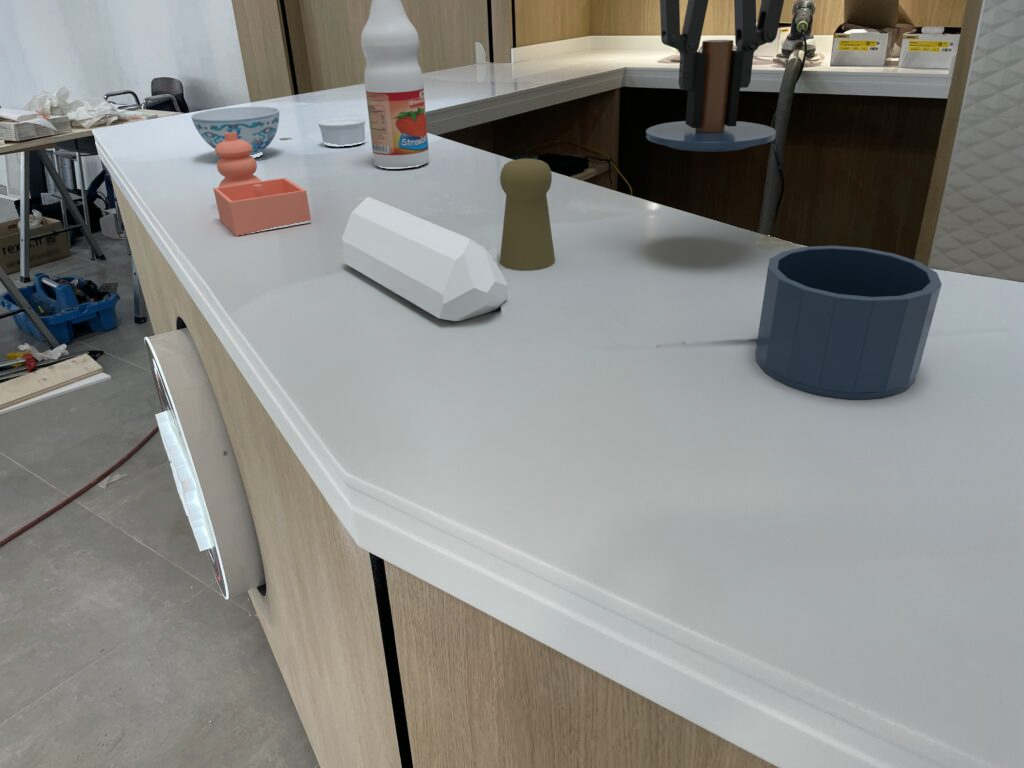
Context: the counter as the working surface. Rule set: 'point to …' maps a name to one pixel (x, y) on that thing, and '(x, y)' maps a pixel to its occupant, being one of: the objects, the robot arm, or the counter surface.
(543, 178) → the cork
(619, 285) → the counter surface
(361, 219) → the crystal
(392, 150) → the fruit juice
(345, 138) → the ramekin
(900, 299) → the blue round pot
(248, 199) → the pottery
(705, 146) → the cover
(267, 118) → the chinaware
